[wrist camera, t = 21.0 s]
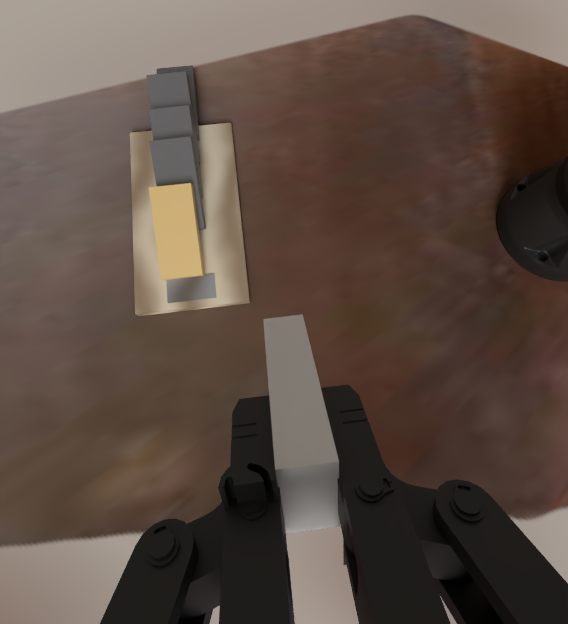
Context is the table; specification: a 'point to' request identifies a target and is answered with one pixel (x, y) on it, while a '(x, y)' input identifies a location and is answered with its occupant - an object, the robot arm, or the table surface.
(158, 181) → the domino
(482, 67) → the table surface
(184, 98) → the domino
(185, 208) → the ochre domino
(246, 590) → the robot arm
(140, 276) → the birch board
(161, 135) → the domino
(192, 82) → the domino
